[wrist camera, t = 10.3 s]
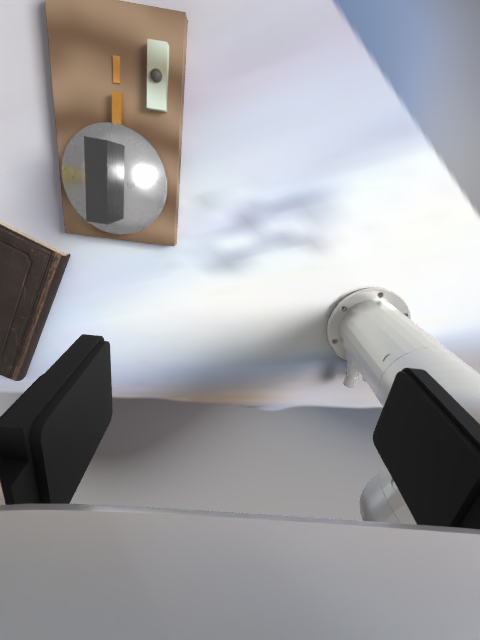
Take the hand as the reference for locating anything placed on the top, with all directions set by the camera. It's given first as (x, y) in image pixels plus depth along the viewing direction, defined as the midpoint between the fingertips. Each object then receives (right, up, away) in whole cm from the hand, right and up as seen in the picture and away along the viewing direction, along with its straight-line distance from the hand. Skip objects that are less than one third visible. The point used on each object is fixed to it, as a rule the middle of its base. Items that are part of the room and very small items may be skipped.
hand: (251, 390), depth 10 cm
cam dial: (-15, +20, +28) cm, 38 cm away
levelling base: (-15, +25, +28) cm, 40 cm away
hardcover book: (-37, +6, +37) cm, 52 cm away
